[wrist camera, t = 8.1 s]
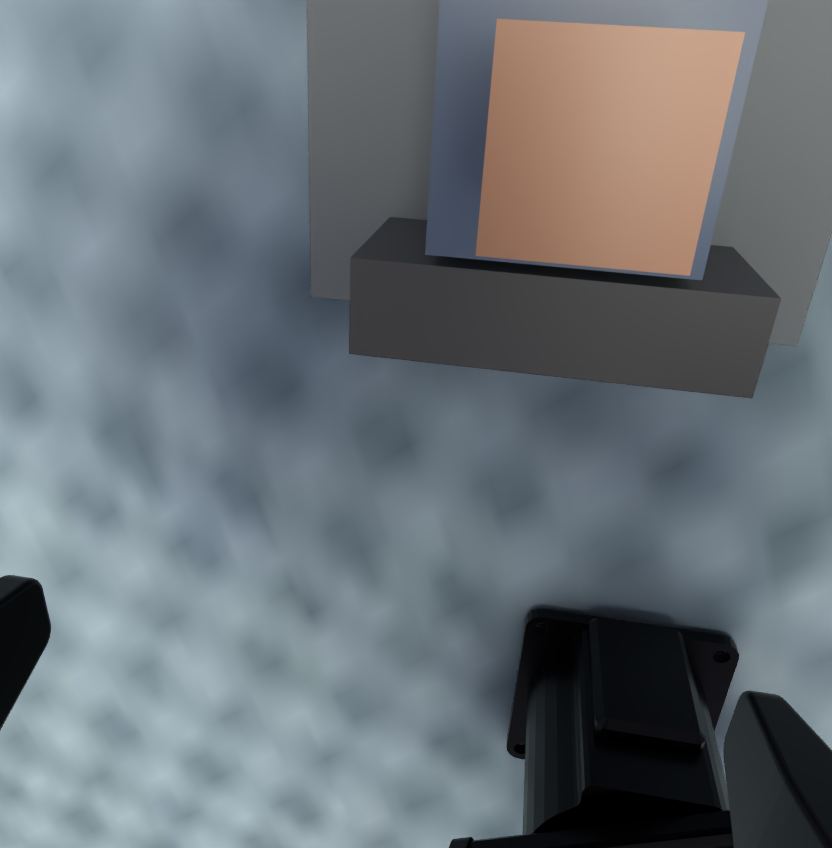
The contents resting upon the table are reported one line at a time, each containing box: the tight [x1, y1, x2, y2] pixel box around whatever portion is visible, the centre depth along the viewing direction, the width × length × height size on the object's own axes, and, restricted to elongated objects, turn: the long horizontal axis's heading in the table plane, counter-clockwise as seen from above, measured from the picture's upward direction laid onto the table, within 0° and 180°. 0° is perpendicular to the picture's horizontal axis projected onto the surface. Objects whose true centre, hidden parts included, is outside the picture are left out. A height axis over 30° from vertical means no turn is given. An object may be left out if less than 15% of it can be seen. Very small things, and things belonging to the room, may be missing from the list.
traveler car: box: [425, 0, 768, 280], centre depth 12 cm, size 5×5×8 cm
